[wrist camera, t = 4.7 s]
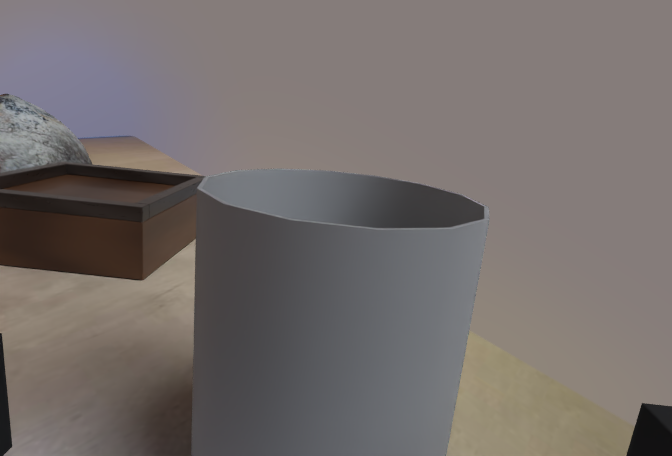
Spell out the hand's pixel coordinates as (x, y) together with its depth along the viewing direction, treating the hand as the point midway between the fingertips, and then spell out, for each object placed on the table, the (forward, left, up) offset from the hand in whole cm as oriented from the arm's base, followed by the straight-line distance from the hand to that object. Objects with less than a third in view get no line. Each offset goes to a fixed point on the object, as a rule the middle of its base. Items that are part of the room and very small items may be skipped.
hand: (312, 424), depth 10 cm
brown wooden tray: (+20, -27, -6) cm, 34 cm away
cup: (0, -5, -6) cm, 8 cm away
